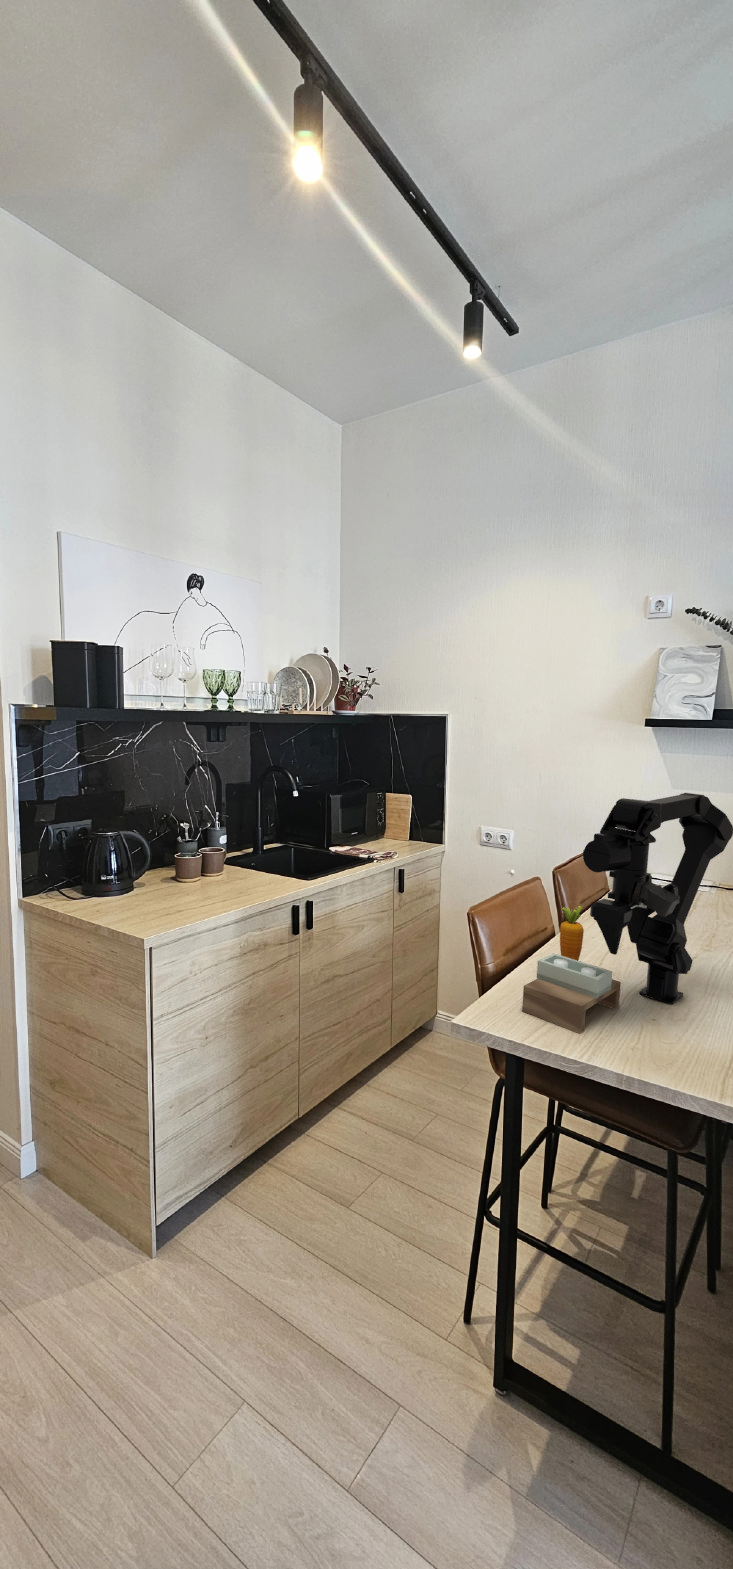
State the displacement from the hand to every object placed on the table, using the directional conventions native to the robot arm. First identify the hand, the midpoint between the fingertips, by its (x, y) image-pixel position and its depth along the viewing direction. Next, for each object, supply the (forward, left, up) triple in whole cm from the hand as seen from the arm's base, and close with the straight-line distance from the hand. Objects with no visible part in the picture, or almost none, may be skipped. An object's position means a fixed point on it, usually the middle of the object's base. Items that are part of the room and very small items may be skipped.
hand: (623, 948), depth 124 cm
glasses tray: (+7, -6, -7) cm, 12 cm away
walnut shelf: (+7, -6, -12) cm, 15 cm away
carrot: (-9, -15, -12) cm, 21 cm away
